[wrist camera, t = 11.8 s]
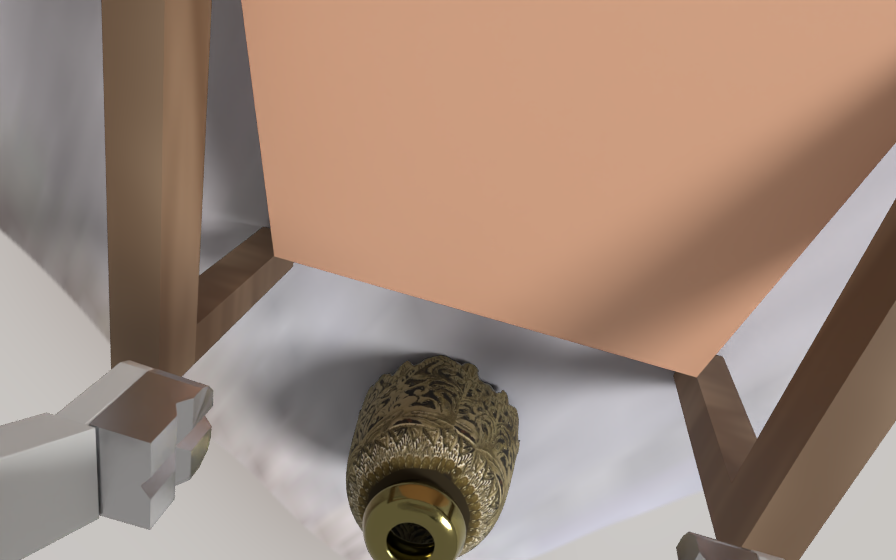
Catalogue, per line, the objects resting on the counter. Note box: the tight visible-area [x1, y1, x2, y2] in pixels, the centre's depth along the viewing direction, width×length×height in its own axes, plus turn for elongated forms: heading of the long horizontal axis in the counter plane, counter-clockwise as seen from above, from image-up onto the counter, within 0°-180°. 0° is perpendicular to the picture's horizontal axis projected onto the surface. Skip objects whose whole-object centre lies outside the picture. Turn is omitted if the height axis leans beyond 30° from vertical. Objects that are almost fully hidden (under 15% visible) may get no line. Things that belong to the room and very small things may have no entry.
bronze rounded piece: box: [346, 355, 520, 560], centre depth 25 cm, size 8×7×8 cm
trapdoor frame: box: [101, 0, 896, 560], centre depth 17 cm, size 20×24×10 cm
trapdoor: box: [241, 0, 896, 377], centre depth 15 cm, size 16×21×2 cm
